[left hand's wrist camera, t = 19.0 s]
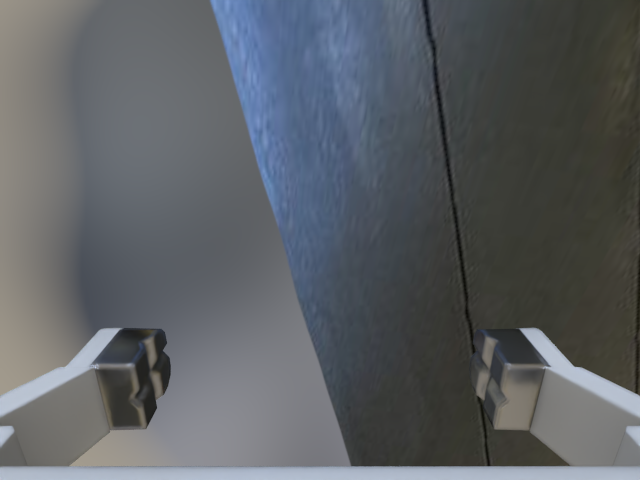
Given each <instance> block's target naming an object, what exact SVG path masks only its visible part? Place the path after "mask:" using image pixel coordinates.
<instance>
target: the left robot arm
mask: <svg viewBox="0 0 640 480" xmlns="http://www.w3.org/2000/svg"><path fill="white" fill-rule="evenodd" d="M166 344H167V341H166V336H165V332H164V331H163V330H162V329H139V328H124V329H123V328H104V329H101V330H99V331H98V332H97V334H96V335H95V336H94V337H93V338H92V339H91V340H90V341H89V342H88V343H87V344H86V345H85V347H84V348H83V349H82V350H81V351H80V352H79V353H78V354H77V355H76V356H75V357H74V359H73V360H72V361H71V362H70V363H69V364H68V365H67V366H66V367H59V368H57V369H55V370H53V371H50V372H48V373H46V374H44V375H42V376H40V377H38V378H36V379H34V380H32V381H30V382H28V383H26V384H24V385H22V386H19V387H17V388H15V389H13V390H11V391H9V392H7V393H5V394H3V395H1V396H0V480H640V396H639V395H637V394H635V393H633V392H631V391H629V390H627V389H625V388H622V387H620V386H618V385H616V384H614V383H612V382H610V381H608V380H606V379H604V378H602V377H600V376H598V375H596V374H594V373H592V372H590V371H587V370H585V369H583V368H581V367H574V366H573V365H572V364H571V363H570V362H569V361H568V360H567V359H566V357H565V356H564V355H563V354H562V353H561V352H560V351H559V350H558V349H557V348H556V347H555V345H554V344H553V343H552V342H551V341H550V340H549V339H548V338H547V337H546V336H545V335H544V333H543V332H542V331H541V330H539V329H537V328H516V329H480V330H477V331H476V333H475V335H474V340H473V344H474V346H475V347H476V349H477V352H476V353H475V354H474V355H473V356H472V357H471V359H470V367H469V371H470V380H471V383H472V387H473V389H474V391H475V393H476V395H478V396H479V397H480V398H482V399H483V400H484V405H483V409H484V411H485V413H486V415H487V417H488V418H489V420H490V422H491V424H492V426H493V428H494V429H505V430H530V432H531V433H532V434H533V435H534V436H535V437H537V438H538V439H539V440H540V441H542V442H543V443H544V444H545V445H546V446H548V447H549V448H550V449H551V450H552V451H554V452H555V453H556V454H557V455H559V456H560V457H561V458H562V459H563V460H565V461H566V462H567V463H568V464H569V465H571V466H376V467H320V466H317V467H316V466H314V467H313V466H91V467H90V466H84V467H83V466H69V465H71V464H72V463H73V462H74V461H76V460H77V459H78V458H79V457H80V456H82V455H83V454H84V453H85V452H86V451H88V450H89V449H90V448H91V447H93V446H94V445H95V444H96V443H97V442H99V441H100V440H101V439H102V438H103V437H105V436H106V435H107V434H108V433H110V430H134V429H146V428H147V426H148V424H149V422H150V420H151V418H152V417H153V415H154V413H155V411H156V409H157V405H156V400H157V399H158V398H160V397H161V396H162V395H164V393H165V391H166V389H167V387H168V383H169V379H170V370H171V365H170V358H169V357H168V356H167V355H166V354H165V353H164V352H163V349H164V347H165V346H166Z"/></svg>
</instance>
